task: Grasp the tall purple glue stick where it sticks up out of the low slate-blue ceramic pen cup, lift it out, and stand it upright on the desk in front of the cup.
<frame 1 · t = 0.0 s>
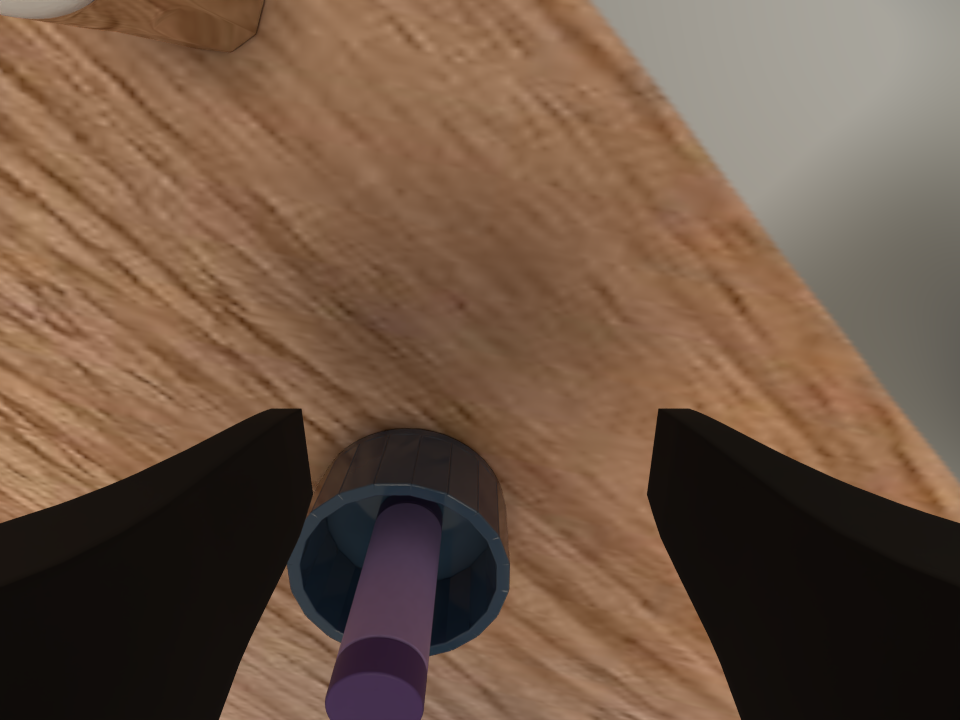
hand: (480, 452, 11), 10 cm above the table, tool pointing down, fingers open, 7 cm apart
glue stick: (410, 517, 23), resting on desk cup
milkshake: (226, 5, 17), on the table
desk cup: (411, 510, 24), on the table
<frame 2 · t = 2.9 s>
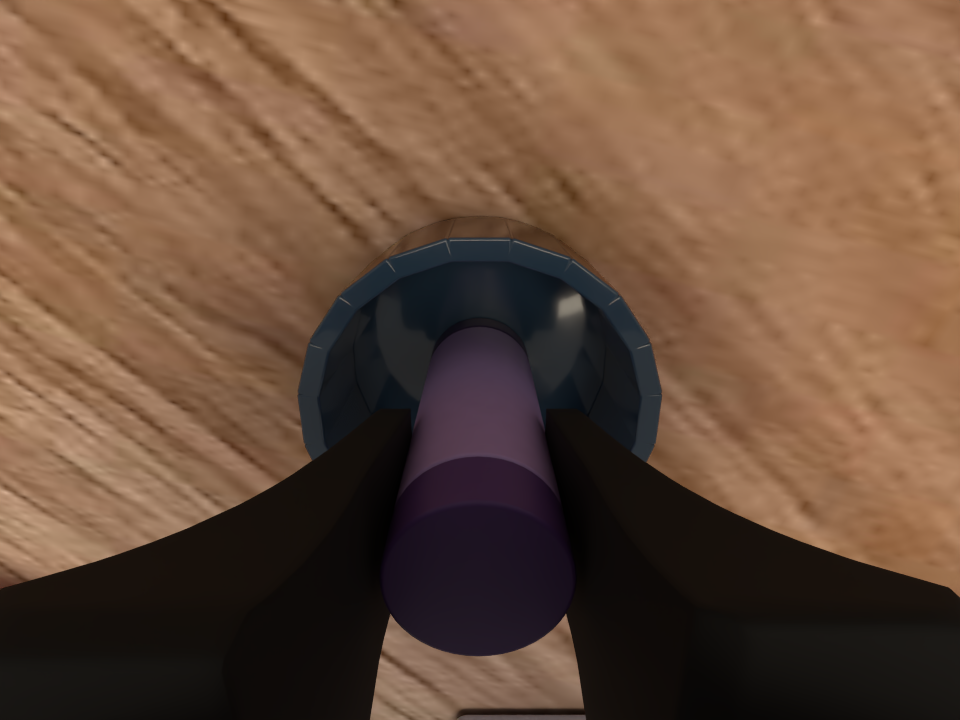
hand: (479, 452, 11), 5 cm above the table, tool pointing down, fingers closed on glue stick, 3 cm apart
glue stick: (479, 363, 15), point 1 cm above the table, touching desk cup, gripper
desk cup: (479, 357, 16), on the table
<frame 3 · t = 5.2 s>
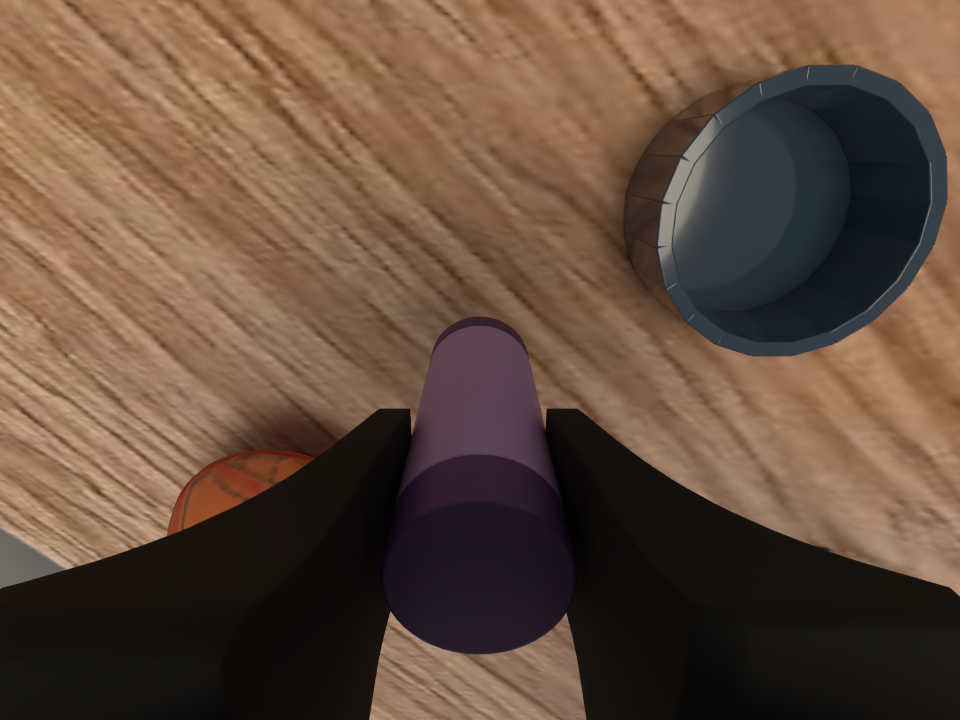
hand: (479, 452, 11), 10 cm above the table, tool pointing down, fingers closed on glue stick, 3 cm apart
glue stick: (479, 362, 15), point 6 cm above the table, touching gripper
pot: (304, 491, 24), on the table
desk cup: (737, 210, 19), on the table
when the fingers open (5 cm above the table, at t = 7.6 s): glue stick stays where it is, on the table.
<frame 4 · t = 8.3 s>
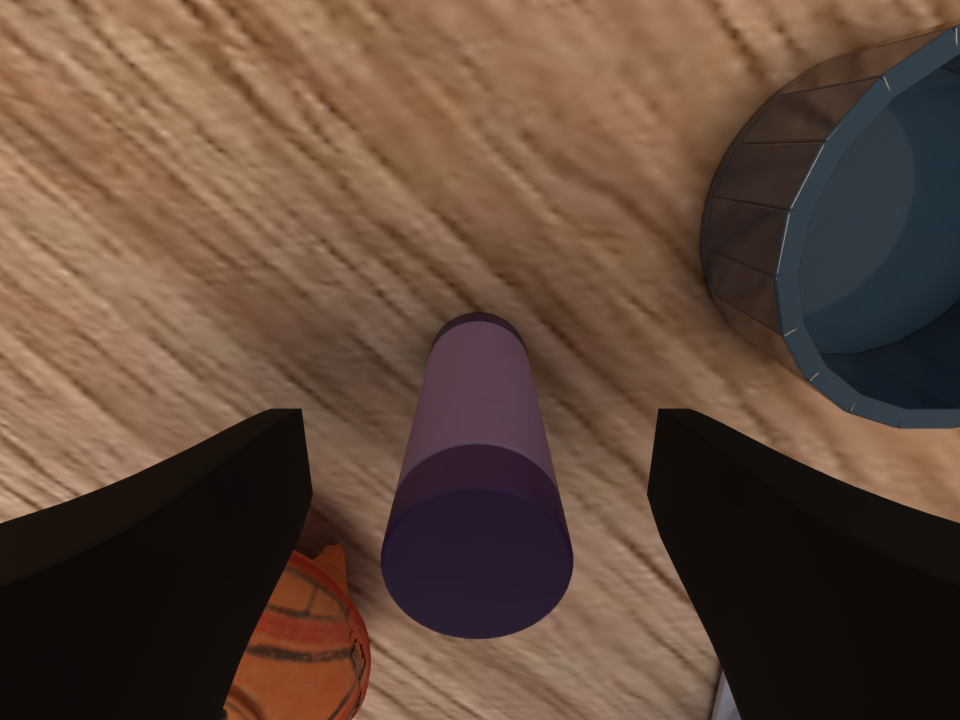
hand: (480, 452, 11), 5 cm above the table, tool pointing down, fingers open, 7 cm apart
glue stick: (478, 358, 16), on the table
pot: (275, 571, 19), on the table
desk cup: (855, 220, 14), on the table
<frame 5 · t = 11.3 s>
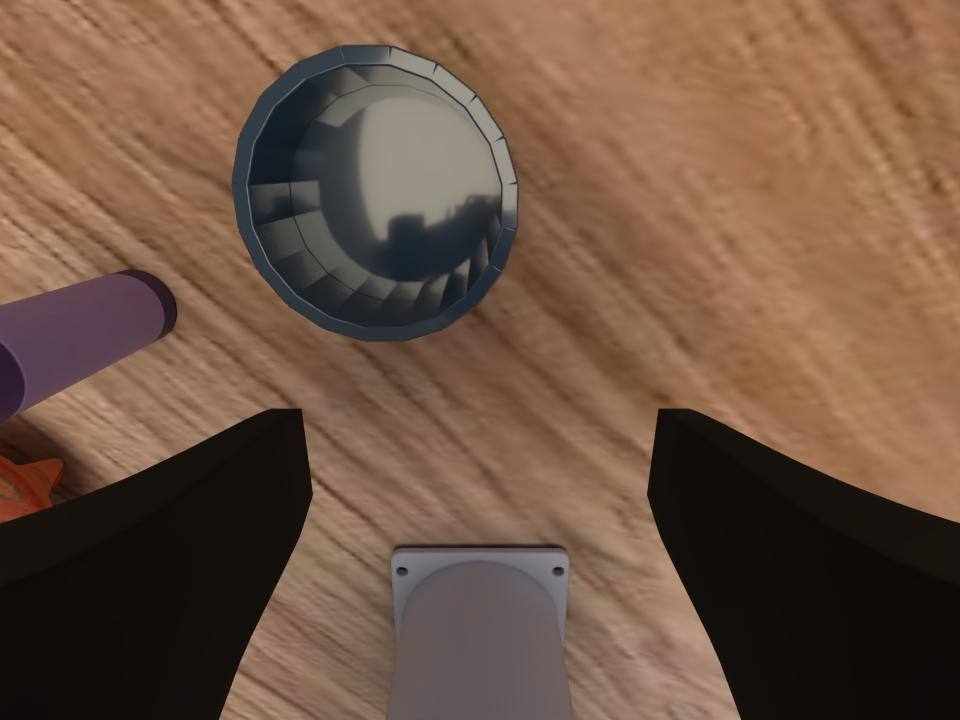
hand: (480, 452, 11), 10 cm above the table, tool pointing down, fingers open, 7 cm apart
glue stick: (140, 305, 21), on the table
pot: (19, 484, 23), on the table
desk cup: (396, 199, 19), on the table
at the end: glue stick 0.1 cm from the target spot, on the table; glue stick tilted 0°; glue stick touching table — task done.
